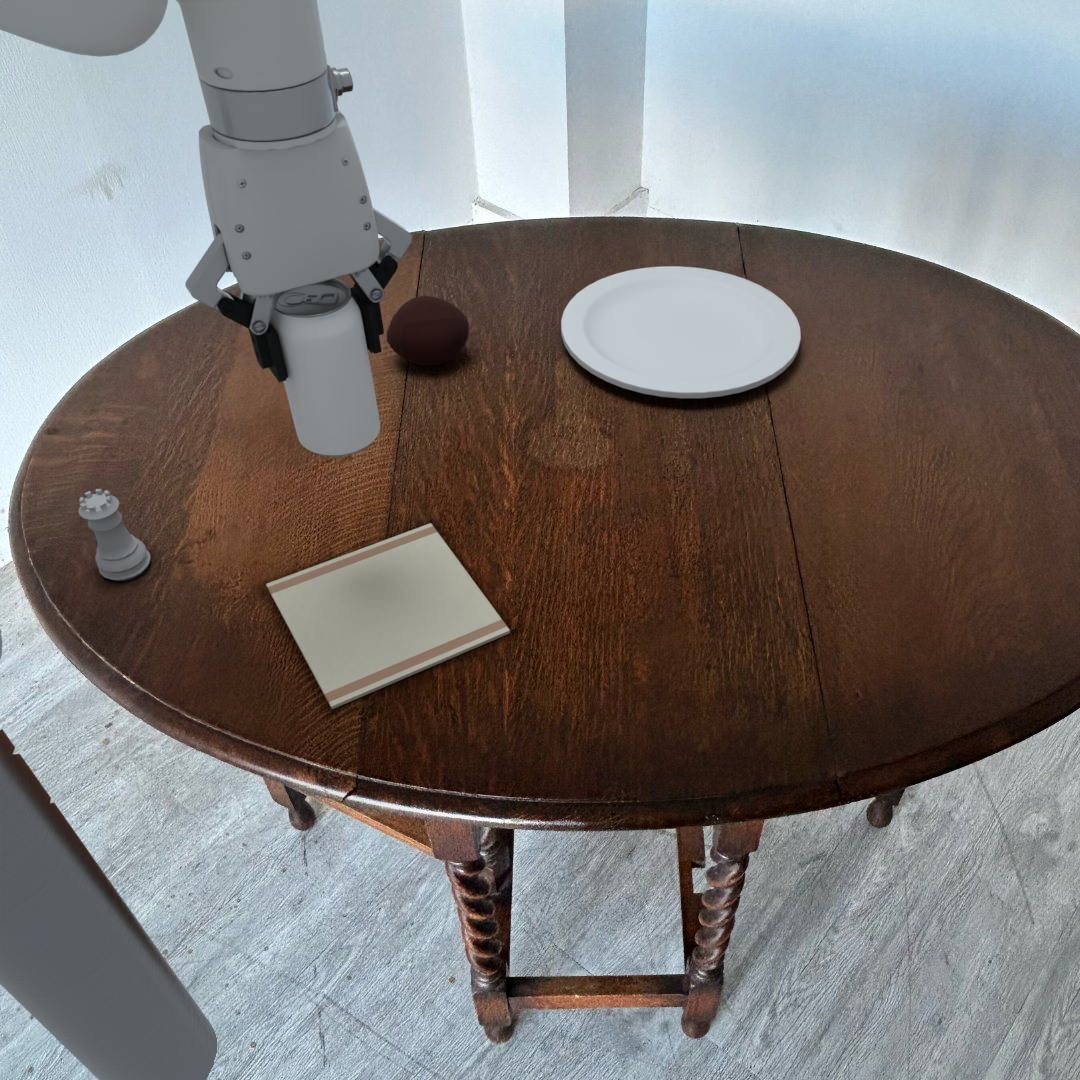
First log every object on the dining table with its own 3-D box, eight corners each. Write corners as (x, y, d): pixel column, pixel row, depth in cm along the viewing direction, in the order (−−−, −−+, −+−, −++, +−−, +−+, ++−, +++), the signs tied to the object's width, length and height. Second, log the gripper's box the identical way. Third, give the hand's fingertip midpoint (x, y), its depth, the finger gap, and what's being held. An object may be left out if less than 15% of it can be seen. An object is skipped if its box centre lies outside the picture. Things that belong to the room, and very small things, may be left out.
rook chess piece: (160, 569, 89) (130, 501, 83) (110, 590, 87) (77, 522, 81) (141, 542, 91) (111, 474, 86) (92, 563, 89) (59, 495, 84)
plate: (767, 278, 128) (769, 261, 126) (826, 403, 109) (829, 385, 107) (551, 288, 125) (551, 270, 124) (573, 417, 106) (573, 399, 104)
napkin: (332, 709, 78) (330, 706, 78) (266, 586, 88) (265, 583, 87) (510, 633, 84) (510, 629, 84) (431, 525, 94) (430, 522, 93)
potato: (477, 374, 112) (472, 312, 106) (395, 385, 110) (384, 323, 104) (466, 337, 117) (460, 276, 111) (387, 347, 115) (377, 286, 110)
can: (304, 411, 80) (272, 273, 71) (385, 409, 80) (362, 272, 72) (291, 460, 76) (255, 319, 67) (377, 459, 76) (351, 318, 67)
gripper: (377, 61, 66) (409, 306, 79) (108, 108, 59) (191, 367, 72) (426, 97, 61) (452, 350, 74) (141, 152, 55) (224, 419, 68)
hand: (323, 356), depth 73 cm, fingers closed on can, 6 cm apart
